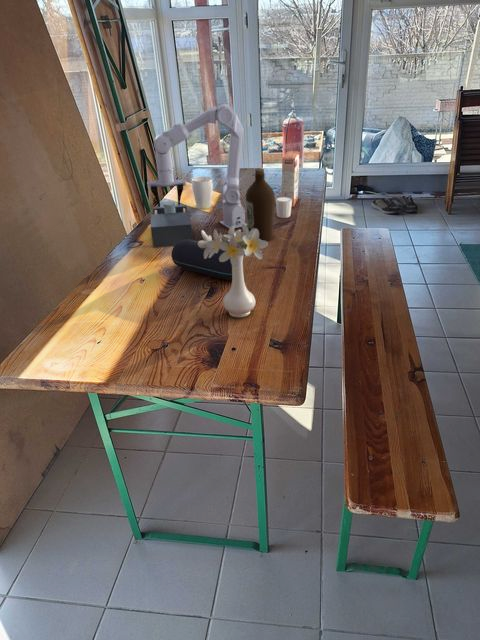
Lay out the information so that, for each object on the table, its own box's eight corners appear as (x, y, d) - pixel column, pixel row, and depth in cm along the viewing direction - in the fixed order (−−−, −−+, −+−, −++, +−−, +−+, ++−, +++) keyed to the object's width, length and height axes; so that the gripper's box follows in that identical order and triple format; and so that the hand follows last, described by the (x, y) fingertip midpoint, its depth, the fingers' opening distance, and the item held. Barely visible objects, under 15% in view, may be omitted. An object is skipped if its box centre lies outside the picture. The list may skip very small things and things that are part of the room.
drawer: (154, 220, 204) (152, 206, 201) (187, 218, 206) (186, 204, 203) (154, 233, 192) (152, 218, 189) (189, 230, 194) (188, 216, 191)
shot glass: (292, 213, 212) (292, 196, 208) (291, 218, 207) (291, 201, 203) (276, 212, 213) (276, 196, 209) (274, 218, 207) (274, 201, 203)
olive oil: (269, 230, 195) (269, 164, 181) (278, 240, 186) (278, 171, 173) (243, 234, 192) (241, 167, 178) (251, 243, 184) (249, 174, 170)
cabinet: (153, 233, 194) (150, 214, 190) (190, 230, 196) (189, 211, 192) (153, 247, 182) (150, 227, 178) (193, 244, 184) (191, 224, 180)
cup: (213, 209, 218) (211, 181, 211) (192, 209, 218) (189, 182, 211) (215, 203, 225) (213, 176, 219) (195, 203, 225) (192, 176, 219)
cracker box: (294, 208, 218) (295, 158, 206) (280, 207, 219) (281, 157, 207) (298, 198, 229) (300, 151, 218) (286, 197, 230) (286, 150, 219)
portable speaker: (249, 275, 161) (249, 246, 155) (233, 287, 154) (231, 257, 148) (188, 260, 172) (185, 233, 166) (170, 271, 165) (166, 242, 159)
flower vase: (211, 300, 147) (204, 217, 133) (272, 304, 144) (272, 220, 131) (199, 322, 137) (190, 235, 123) (265, 327, 134) (263, 238, 120)
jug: (165, 220, 201) (163, 200, 196) (176, 219, 201) (174, 200, 197) (166, 225, 196) (163, 205, 191) (177, 224, 196) (174, 204, 192)
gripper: (183, 165, 191) (187, 200, 199) (145, 167, 189) (150, 203, 197) (184, 170, 185) (188, 206, 193) (145, 172, 183) (150, 208, 191)
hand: (169, 205), depth 194 cm, fingers open, 7 cm apart
